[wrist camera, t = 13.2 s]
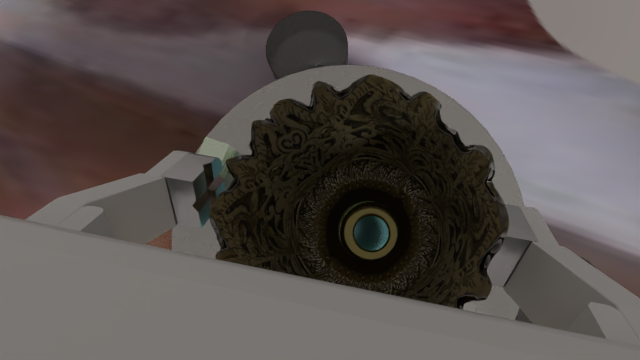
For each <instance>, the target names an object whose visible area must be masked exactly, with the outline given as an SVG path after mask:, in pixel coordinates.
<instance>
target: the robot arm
mask: <svg viewBox="0 0 640 360" xmlns="http://www.w3.org/2000/svg"><path fill="white" fill-rule="evenodd" d="M222 170H223V167H222V161H221V160H220V159H219V158H218V157H212V156H207V155H201V154H196V153H190V152H185V151H173V152H171V153H170V154H169V155H168V156H166V157H165V158H164V159H163V160H161V161H160V162H159V163H158V164H156V165H155V166H154V167H153V168H151V169H150V170H149V171H148V172H146V173H145V174H142V173H139V174H136V175H133V176H129V177H126V178H123V179H119V180H116V181H112V182H109V183H106V184H102V185H99V186H96V187H92V188H89V189H86V190H82V191H79V192H76V193H72V194H69V195H66V196H62V197H59V198H57V199H55V200H54V201H52V202H51V203H49V204H48V205H46V206H45V207H43V208H42V209H40V210H39V211H37V212H36V213H34V214H33V215H31V216H30V217H28V218H27V219H25V220H23V219H18V218H13V217H8V216H3V215H0V360H640V298H638V297H637V296H635V295H634V294H632V293H631V292H629V291H628V290H627V289H625V288H624V287H622V286H621V285H619V284H618V283H616V282H615V281H614V280H612V279H611V278H609V277H608V276H606V275H605V274H603V273H602V272H601V271H599V270H598V269H596V268H595V267H593V266H592V265H590V264H589V263H587V262H586V261H585V260H583V259H582V258H580V257H579V256H577V255H576V254H574V253H573V252H572V251H570V250H569V249H567V248H566V247H561V246H559V245H558V243H557V241H556V240H555V238H554V236H553V235H552V233H551V231H550V230H549V228H548V226H547V225H546V223H545V221H544V220H543V218H542V216H541V215H540V213H539V211H538V210H537V209H535V208H532V207H525V206H517V205H508V204H505V207H506V209H507V212H508V216H509V228H508V231H507V234H506V237H505V239H504V242H503V244H502V246H501V248H500V250H499V251H498V252H497V253H496V255H495V256H494V257H493V259H492V260H491V262H490V264H489V266H488V268H487V274H488V276H489V278H490V280H491V283H492V285H493V286H498V287H502V288H504V290H505V291H506V293H507V294H508V295H509V296H510V297H511V298H512V300H513V301H514V302H515V303H516V304H517V305H518V307H519V308H520V309H521V310H522V311H523V312H524V314H525V315H526V316H527V317H528V318H529V319H530V320H531V322H532V323H533V324H531V323H527V322H522V321H517V320H512V319H507V318H502V317H497V316H492V315H487V314H482V313H477V312H472V311H467V310H463V309H458V308H453V307H448V306H443V305H438V304H433V303H428V302H424V301H419V300H414V299H409V298H404V297H399V296H394V295H390V294H385V293H380V292H375V291H370V290H365V289H360V288H355V287H350V286H346V285H341V284H336V283H331V282H326V281H321V280H316V279H311V278H306V277H301V276H296V275H291V274H286V273H281V272H277V271H272V270H267V269H262V268H257V267H252V266H247V265H242V264H238V263H233V262H228V261H223V260H218V259H213V258H208V257H203V256H198V255H194V254H189V253H184V252H179V251H174V250H169V249H164V248H159V247H155V246H150V245H145V243H147V242H149V241H151V240H153V239H154V238H156V237H158V236H160V235H161V234H163V233H165V232H167V231H168V230H170V229H172V228H174V227H175V226H177V225H182V226H188V227H194V228H200V229H202V227H203V226H204V225H205V223H206V222H207V221H208V219H209V212H210V209H211V208H212V207H213V205H214V203H215V201H216V200H217V198H218V196H219V194H220V192H221V191H223V190H225V183H224V180H223V178H222V177H221V176H220V175H219V174H220V173H221V171H222Z"/></svg>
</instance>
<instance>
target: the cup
mask: <svg viewBox="0 0 640 360" xmlns="http://www.w3.org/2000/svg"><path fill="white" fill-rule="evenodd" d="M334 88H336V87H333V86H332V85H330V84H328V83H327V82H321V81H317V82H315V83H314V84H313V89H312V91H311V92H312V93H311V96H310V97H311V101H310V105H309V106H308V105H306V104H304V103H302V102H300V101H297V100H294V99H292V98H289V99H283V100H280V101H278V102H277V103H275V104H274V106H273V108H272V109H271V111H270V112H269V113H270V119H269V118H266V119H265V120H255V121H253V122H252V126H251V142H250V143H249V146H250V149H251V151H252V154H251V155H241V154H240V155H238V156H236V157H232V158H229V159H227V160H226V166H227V168H228V170H229V172H230V174H231V175H232V177H233V181H232V182H231V184H230V186H229V187H228V188H227V189H226V190H223V191H221V192H220V194H219V196H218V198H217V200H216V201H215V203H214V205H213V207H212V208H211V209H210V212H209V218H210V222H211V225H212V227H213V229H214V231H215V233H216V235H217V241H218V242H219V245H220V247H221V249H220V251H218V252H217V253H216V255H215V259H218V260H223V261H228V262H233V263H238V264H242V265H247V266H252V267H257V268H262V269H267V270H272V271H277V272H281V273H286V274H291V275H296V276H301V277H306V278H311V279H316V280H321V281H326V282H331V283H336V284H341V285H346V286H350V287H355V288H360V289H365V290H370V291H375V292H380V293H385V294H390V295H394V296H399V297H404V298H409V299H414V300H419V301H424V302H428V303H433V304H438V305H443V306H448V307H453V308H458V309H463V307H464V304H465V303H469V302H471V301H482V300H486V299H487V298H488V296H489V294H490V292H491V288H492V283H491V280H490V278H489V276H488V274H487V268H488V266H489V264H490V262H491V260H492V259H493V257H494V256H495V255H496V253H497V252H498V251H499V250H500V248H501V246H502V244H503V242H504V239H505V237H506V234H507V231H508V228H509V216H508V212H507V209H506V207H505V203H504V201H503V199H502V198H501V196H500V194H499V193H498V191H497V190H496V188H495V186H494V184H493V182H492V179H493V177H494V174H495V165H494V159H493V156H492V153H491V152H490V150H489V149H488V148H487V147H485V146H484V145H474V144H473V145H469V146H465V145H464V143H463V142H462V141H461V139H460V136H459V133H458V132H457V131H456V130H455V129H451V128H449V127H448V126H447V125H446V124H445V123H444V122H443V121H442V120H441V115H440V109H441V107H442V106H441V103H440V102H439V101H438V100H437V99H436V98H435V97H433V96H432V95H431V94H430V93H428V92H425V91H421V92H418V93H416V94H414V95H412V96H410V95H409V94H408V93H406V92H405V91H404V89H403V88H402V87H400V86H399V85H398V84H396V83H394V82H393V81H390V80H388V79H386V78H383V77H380V76H376V75H374V74H369V75H366V76H363V77H362V78H360V79H358V80H356V81H355V82H353V83H352V84H351V85H350V86H349V87H347V88H345V89H343V90H341V91H336V90H335V89H334ZM312 99H313V101H312ZM311 105H312V106H311ZM471 148H473V149H471ZM367 216H375V217H378V218H380V219H381V220H383V221H384V222H385V224H386V226H387V228H388V239H387V241H386V243H385V244H384V245H383V246H382V247H381V248H379V249H377V250H366V249H364V248H362V247H361V246H360V245H359V244H358V243H357V241H356V239H355V236H354V230H355V226H356V224H357V223H358V222H359V221H360V220H361V219H362V218H364V217H367Z"/></svg>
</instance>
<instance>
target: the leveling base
mask: <svg viewBox="0 0 640 360" xmlns="http://www.w3.org/2000/svg"><path fill="white" fill-rule="evenodd" d="M266 56H267V60H268V63H269V65H270V68H271V70H272V72H273V74H274V77H275V79H276V81H274V82H271V83H270V84H268V85H266V86H264V87H262V88H261V89H259V90H257V91H255V92H253V93H252V94H251V95H249V96H248V97H247V98H245V99H244V100H242V101H241V102H240V103H238V104H237V105H236V106H235V107H234V108H233V109H231V110H230V111H229V112H228V113H227V114H226V115H225V116H224V117H223V118H222V119H221V120H220V121H219V122H218V123H217V125H216V126H215V127H214V128H213V129H212V130H211V132H210V133H209V134H208V135H207V137H205V139H204V141H203V143H202V144H201V146H200V147H199V149H198V150H197V152H196V154H201V155H207V156H212V157H218V158H219V159H220V160H221V161H222V167H223V170H222V171H221V173H220V174H219V175H220V176H221V177H222V178H223V180H224V183H225V190H226V189H227V188H228V187H229V186H230V184H231V182H232V181H233V177H232V175H231V174H230V172H229V170H228V168H227V166H226V160H227V159H229V158H232V157H236V156H238V155H240V154H241V155H251V154H252V151H251V149H250V146H249V143H250V142H251V126H252V122H253V121H255V120H265V119H266V118H269V119H270V113H269V112H270V111H271V109H272V108H273V106H274V104H275V103H277V102H278V101H280V100H283V99H289V98H292V99H294V100H297V101H300V102H302V103H304V104H306V105H308V106H309V105H310V101H311V97H310V96H311V93H312V92H311V91H312V89H313V84H314V83H315V82H317V81H321V82H327V83H328V84H330V85H332V86H333V87H336V88H334V89H335V90H336V91H341V90H343V89H345V88H347V87H349V86H350V85H351V84H352V83H353V82H355V81H356V80H358V79H360V78H362V77H363V76H366V75H369V74H374V75H376V76H380V77H383V78H386V79H388V80H390V81H393V82H394V83H396V84H398V85H399V86H400V87H402V88H403V89H404V91H405V92H406V93H408V94H409V95H410V96H412V95H414V94H416V93H418V92H421V91H425V92H428V93H430V94H431V95H432V96H433V97H435V98H436V99H437V100H438V101H439V102H440V103H441V106H442V107H441V109H440V115H441V120H442V121H443V122H444V123H445V124H446V125H447V126H448V127H449V128H451V129H455V130H456V131H457V132H458V133H459V136H460V139H461V141H462V142H463V143H464V145H465V146H469V145H473V144H474V145H484V146H485V147H487V148H488V149H489V150H490V152H491V153H492V156H493V159H494V165H495V174H494V177H493V179H492V182H493V184H494V186H495V188H496V190H497V191H498V193H499V194H500V196H501V198H502V199H503V201H504V203H505V204H508V205H517V206H524V203H523V199H522V195H521V191H520V188H519V186H518V183H517V181H516V178H515V176H514V173H513V171H512V169H511V167H510V165H509V163H508V161H507V160H506V158H505V156H504V154H503V152H502V151H501V149H500V147H499V146H498V145H497V143H496V142H495V141H494V139H493V138H492V137H491V135H490V134H489V133H488V131H487V130H486V129H485V128H484V127H483V126H482V124H481V123H480V122H479V121H478V120H477V119H476V118H475V117H474V116H473V115H472V114H471V113H470V112H469V111H467V110H466V109H465V108H464V107H463V106H461V105H460V104H459V103H458V102H456V101H455V100H454V99H453V98H451V97H450V96H448V95H446V94H445V93H443V92H442V91H440V90H438V89H437V88H435V87H433V86H431V85H429V84H427V83H425V82H423V81H421V80H419V79H416V78H414V77H411V76H408V75H405V74H402V73H399V72H396V71H393V70H388V69H383V68H378V67H373V66H360V65H348V42H347V36H346V33H345V31H344V29H343V28H342V26H341V25H340V24H339V22H338V21H336V20H335V19H334V18H333V17H331V16H329V15H327V14H325V13H322V12H317V11H302V12H297V13H294V14H292V15H289V16H288V17H286V18H284V19H283V20H281V21H280V22H279V23H278V24H277V25H276V26H275V27H274V29H273V30H272V31H271V33H270V35H269V37H268V40H267V45H266ZM312 101H313V99H312ZM311 106H312V105H311ZM471 149H473V148H471ZM354 236H355V239H356V241H357V243H358V244H359V245H360V246H361V247H362V248H364V249H366V250H377V249H379V248H381V247H382V246H383V245H384V244H385V243H386V241H387V239H388V228H387V226H386V224H385V222H384V221H383V220H381V219H380V218H378V217H375V216H367V217H364V218H362V219H361V220H360V221H359V222H358V223H357V224H356V226H355V230H354ZM220 249H221V247H220V245H219V242H218V241H217V235H216V233H215V231H214V229H213V227H212V225H211V222H210V218H209V219H208V221H207V222H206V223H205V225H204V226H203V227H202V229H200V228H194V227H188V226H182V225H177V226H175V227H174V228H173V229H172V250H174V251H179V252H184V253H189V254H194V255H198V256H203V257H208V258H213V259H215V255H216V253H217V252H218V251H220ZM577 256H578V255H577ZM579 257H580V256H579ZM580 258H582V257H580ZM582 259H583V260H585V259H584V258H582ZM585 261H586V262H587V263H589V264H590V265H592V264H591V263H590V262H588V261H587V260H585ZM592 266H593V265H592ZM593 267H594V266H593ZM595 268H596V267H595ZM596 269H597V268H596ZM463 310H467V311H472V312H477V313H482V314H487V315H492V316H497V317H502V318H507V319H512V320H517V321H522V322H527V323H531V324H533V323H532V322H531V320H530V319H529V318H528V317H527V316H526V315H525V314H524V312H523V311H522V310H521V309H520V308H519V307H518V305H517V304H516V303H515V302H514V301H513V300H512V298H511V297H510V296H509V295H508V294H507V293H506V291H505V290H504V288H502V287H498V286H493V285H492V288H491V292H490V294H489V296H488V298H487V299H486V300H482V301H471V302H469V303H465V304H464V307H463Z"/></svg>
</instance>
